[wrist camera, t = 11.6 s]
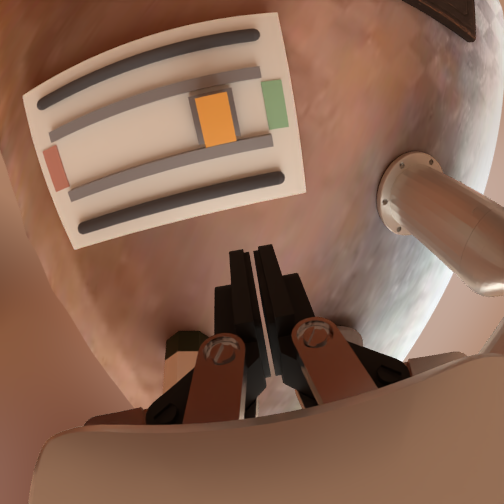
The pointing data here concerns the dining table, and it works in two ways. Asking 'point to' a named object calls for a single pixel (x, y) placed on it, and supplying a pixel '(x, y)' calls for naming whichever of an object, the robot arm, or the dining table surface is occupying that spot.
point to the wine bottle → (181, 356)
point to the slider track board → (167, 129)
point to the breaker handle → (215, 117)
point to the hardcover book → (451, 15)
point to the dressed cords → (182, 197)
